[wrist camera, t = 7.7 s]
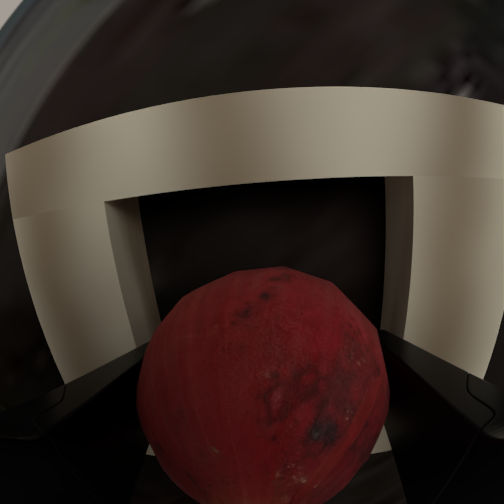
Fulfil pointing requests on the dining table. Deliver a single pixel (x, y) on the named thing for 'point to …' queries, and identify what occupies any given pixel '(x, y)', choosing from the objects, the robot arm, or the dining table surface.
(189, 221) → the dining table surface
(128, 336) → the cutout board
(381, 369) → the onion
